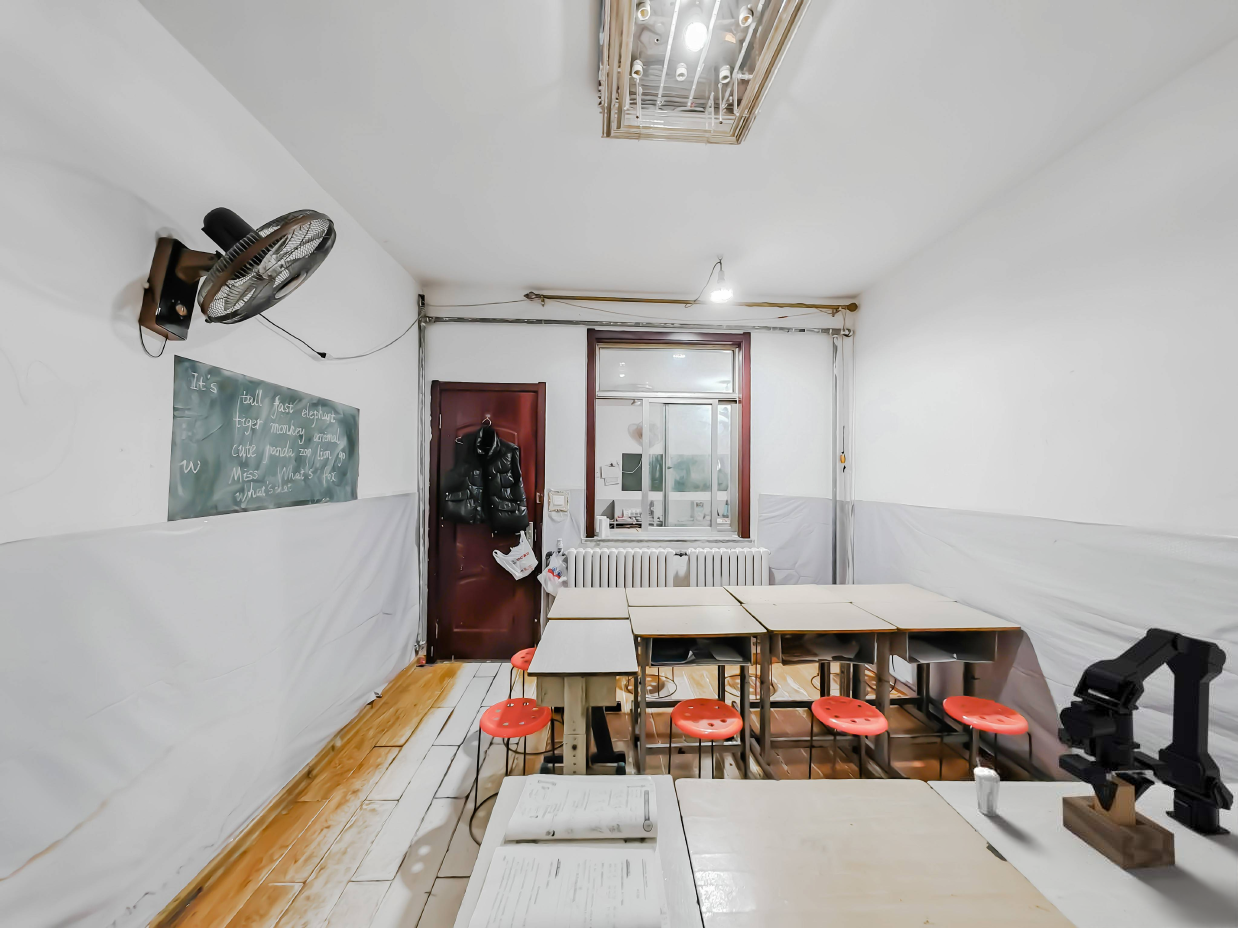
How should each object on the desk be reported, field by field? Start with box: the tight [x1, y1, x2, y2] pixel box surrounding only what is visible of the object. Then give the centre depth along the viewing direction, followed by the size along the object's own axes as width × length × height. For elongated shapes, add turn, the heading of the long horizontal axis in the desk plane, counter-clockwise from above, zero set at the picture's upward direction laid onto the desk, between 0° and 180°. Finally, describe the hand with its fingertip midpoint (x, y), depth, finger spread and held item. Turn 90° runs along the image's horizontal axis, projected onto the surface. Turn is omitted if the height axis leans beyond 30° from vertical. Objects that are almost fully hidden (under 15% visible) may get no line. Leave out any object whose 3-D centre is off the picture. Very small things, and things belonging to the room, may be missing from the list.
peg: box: [1093, 773, 1136, 826], centre depth 94 cm, size 4×4×8 cm
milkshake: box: [973, 757, 1001, 817], centre depth 104 cm, size 4×5×10 cm
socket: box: [1061, 795, 1176, 870], centre depth 94 cm, size 11×11×6 cm
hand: (1115, 809), depth 94 cm, fingers closed on peg, 4 cm apart
